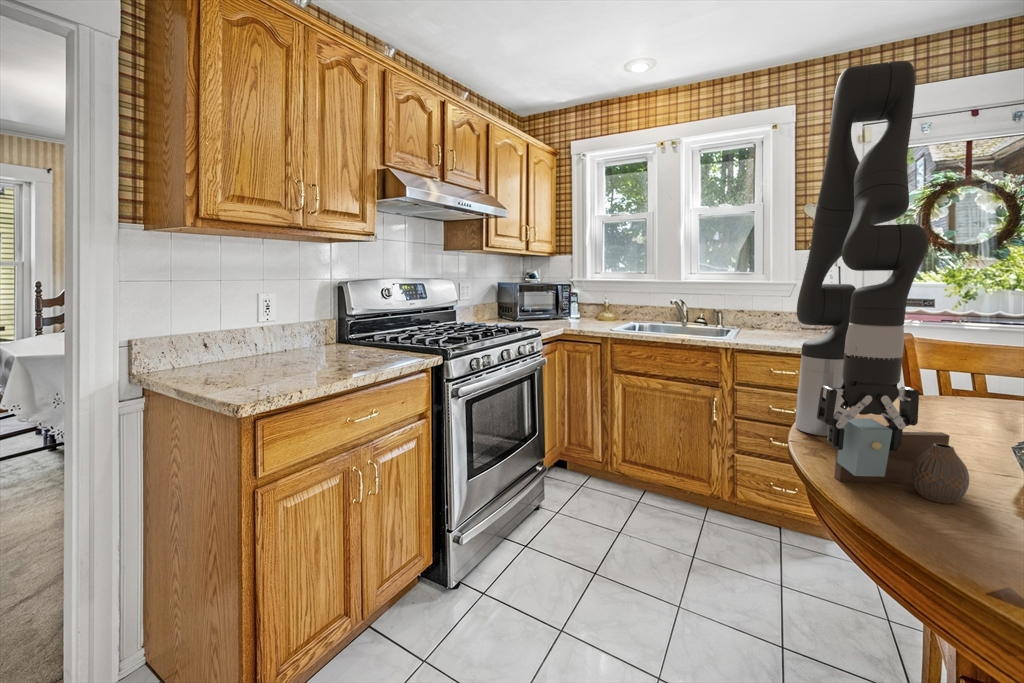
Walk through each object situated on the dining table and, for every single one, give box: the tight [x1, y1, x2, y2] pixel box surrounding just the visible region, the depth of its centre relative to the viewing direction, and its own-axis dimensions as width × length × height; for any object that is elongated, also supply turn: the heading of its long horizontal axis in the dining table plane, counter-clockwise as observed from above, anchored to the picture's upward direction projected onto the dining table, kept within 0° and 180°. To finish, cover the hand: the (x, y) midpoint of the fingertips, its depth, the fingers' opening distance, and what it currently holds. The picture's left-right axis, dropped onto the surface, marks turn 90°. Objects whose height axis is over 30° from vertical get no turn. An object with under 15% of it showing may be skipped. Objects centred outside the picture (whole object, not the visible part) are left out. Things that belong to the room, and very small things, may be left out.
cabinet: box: [827, 417, 892, 477], centre depth 81 cm, size 9×5×8 cm, turn 176°
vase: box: [911, 443, 970, 504], centre depth 76 cm, size 7×7×9 cm
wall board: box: [833, 431, 950, 484], centre depth 83 cm, size 2×17×8 cm, turn 86°
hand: (863, 448), depth 79 cm, fingers open, 8 cm apart
